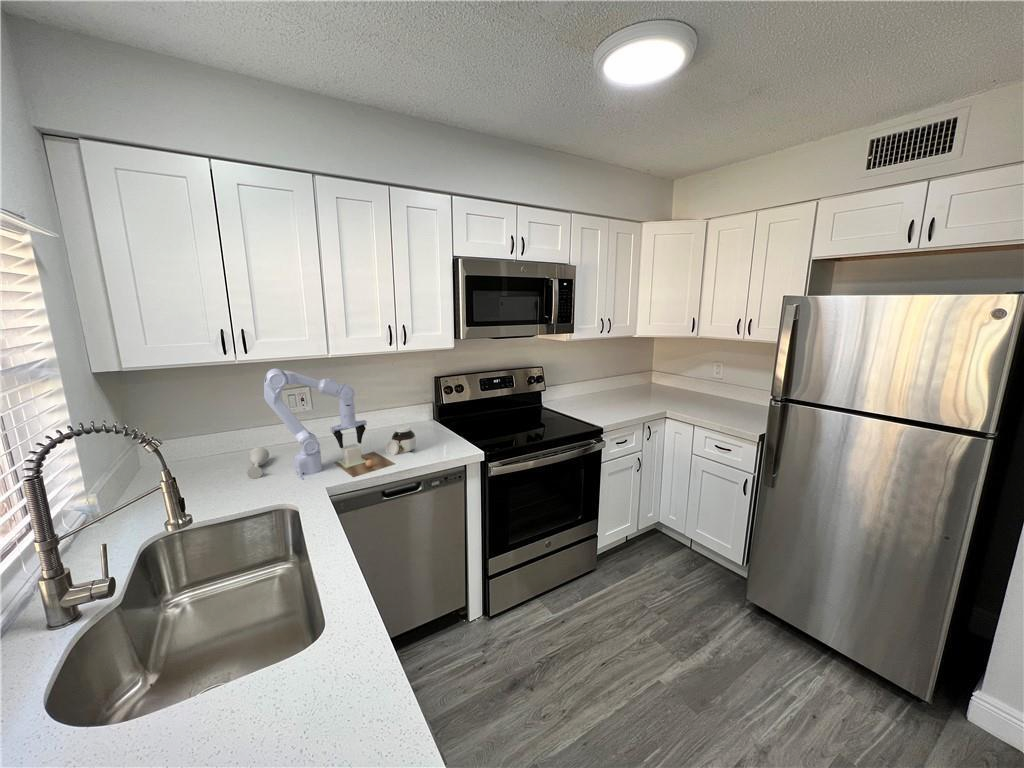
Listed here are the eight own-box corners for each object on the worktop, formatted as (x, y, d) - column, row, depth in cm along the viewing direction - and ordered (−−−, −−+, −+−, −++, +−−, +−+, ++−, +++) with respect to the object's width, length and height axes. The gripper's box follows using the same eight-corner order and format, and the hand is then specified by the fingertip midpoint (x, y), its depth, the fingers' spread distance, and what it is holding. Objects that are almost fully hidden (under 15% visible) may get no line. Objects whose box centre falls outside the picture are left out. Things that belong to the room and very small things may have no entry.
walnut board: (353, 479, 160) (353, 477, 160) (333, 464, 175) (333, 462, 174) (396, 466, 172) (395, 463, 172) (374, 453, 187) (373, 451, 186)
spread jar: (418, 448, 192) (416, 424, 189) (409, 458, 181) (408, 432, 178) (393, 448, 193) (391, 424, 191) (383, 457, 182) (381, 432, 180)
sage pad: (346, 468, 169) (346, 467, 169) (337, 462, 175) (337, 461, 175) (367, 462, 175) (367, 461, 175) (358, 456, 181) (358, 455, 181)
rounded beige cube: (348, 465, 171) (347, 450, 169) (343, 461, 175) (341, 446, 173) (361, 461, 175) (360, 446, 173) (356, 457, 179) (354, 443, 177)
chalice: (247, 462, 160) (252, 445, 176) (241, 478, 160) (246, 459, 176) (268, 466, 164) (271, 449, 179) (262, 482, 164) (266, 463, 180)
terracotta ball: (367, 468, 168) (367, 461, 167) (364, 466, 170) (364, 459, 169) (374, 466, 170) (374, 459, 169) (371, 464, 172) (371, 457, 171)
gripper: (333, 419, 163) (336, 452, 165) (368, 412, 172) (371, 443, 175) (326, 416, 168) (330, 447, 170) (361, 409, 177) (364, 439, 180)
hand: (350, 445), depth 173 cm, fingers open, 7 cm apart
